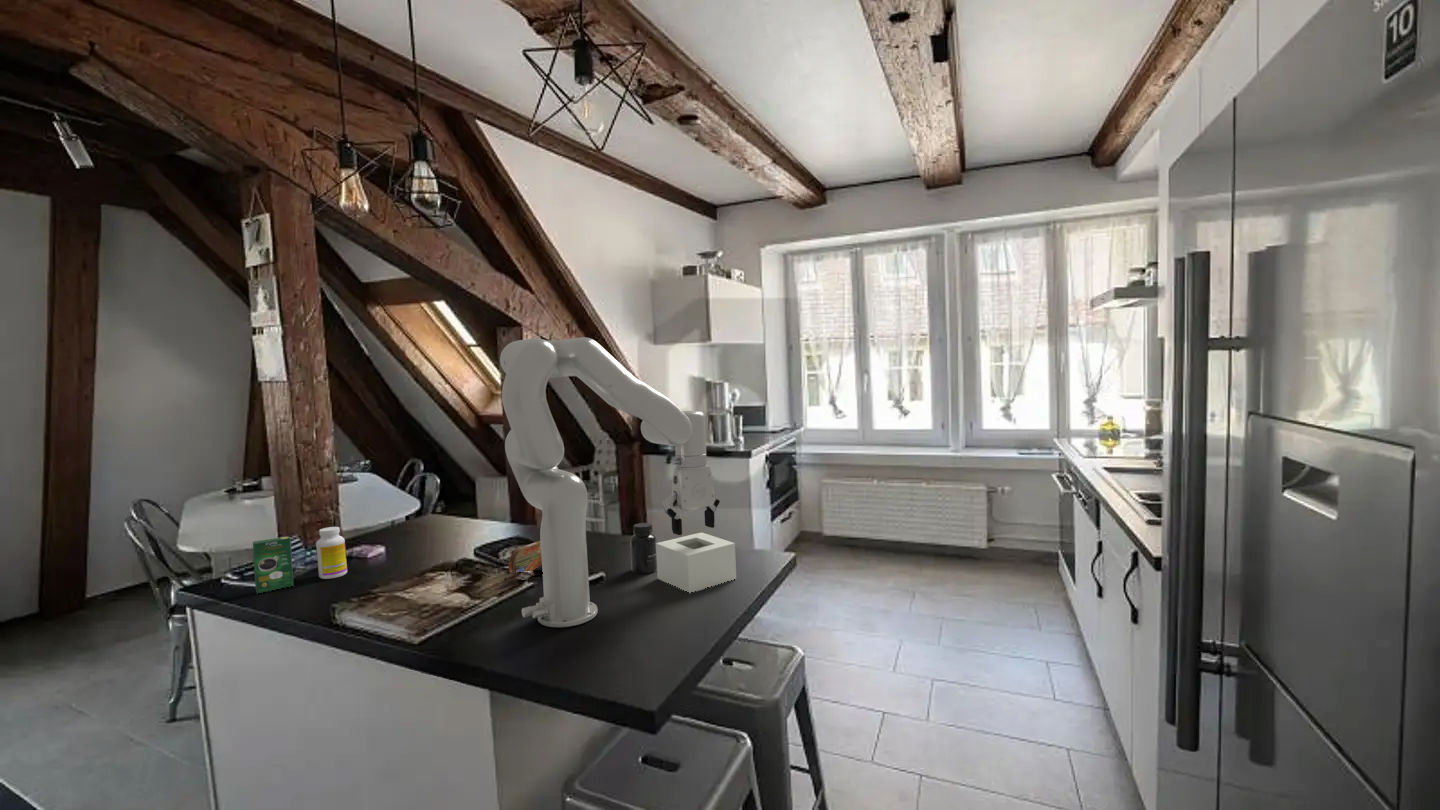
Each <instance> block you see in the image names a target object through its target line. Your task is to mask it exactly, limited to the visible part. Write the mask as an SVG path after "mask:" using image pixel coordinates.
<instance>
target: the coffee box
mask: <svg viewBox="0 0 1440 810" xmlns="http://www.w3.org/2000/svg"><path fill="white" fill-rule="evenodd" d="M252 549H253V550H252V553H253V554H252V555H253V566H254V567H253V570H254V583H255V585H254V586H255V592H257V593H256V594H257V595H259V594H258V593H260V594H264V593H263V592H266V593H269V592H273V591H272V590H274V591H277V590H276V589H279V590H282V589H281V588H285V589H287V588H286V587H289V588H291V587H290V586H293V587H295V585H294V574H293V573H294V572H293V557H292V556H293V555H292V539H291V536H289V535H288V536H281V537H274V538H267V539H261V540H254V541H253V542H252ZM268 591H269V592H268Z"/></svg>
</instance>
